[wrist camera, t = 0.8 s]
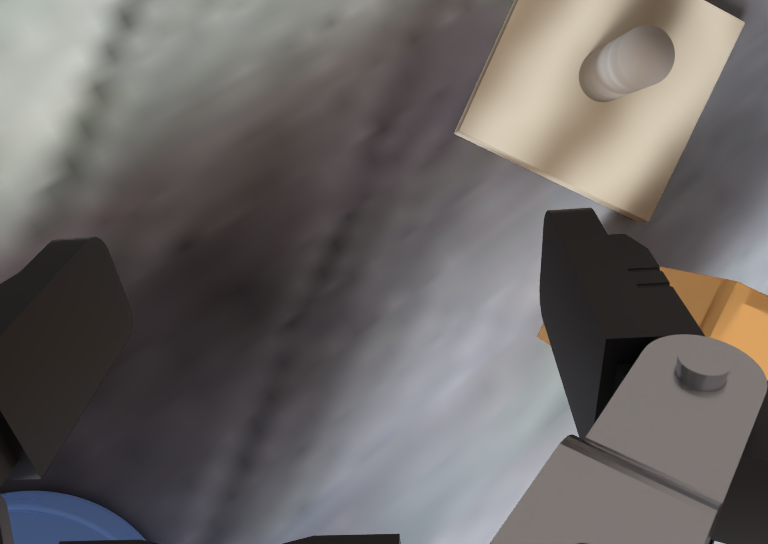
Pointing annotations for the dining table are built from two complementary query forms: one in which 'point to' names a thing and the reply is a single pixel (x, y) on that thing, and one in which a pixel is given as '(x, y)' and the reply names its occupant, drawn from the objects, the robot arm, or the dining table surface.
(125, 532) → the water jug
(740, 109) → the dining table surface
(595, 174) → the stub plate
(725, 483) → the robot arm
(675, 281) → the orange tall block
